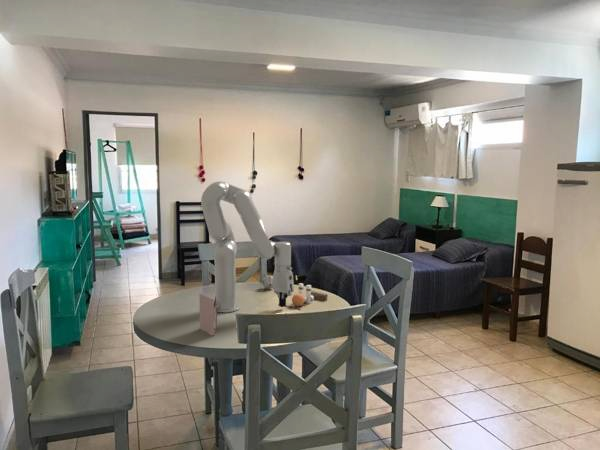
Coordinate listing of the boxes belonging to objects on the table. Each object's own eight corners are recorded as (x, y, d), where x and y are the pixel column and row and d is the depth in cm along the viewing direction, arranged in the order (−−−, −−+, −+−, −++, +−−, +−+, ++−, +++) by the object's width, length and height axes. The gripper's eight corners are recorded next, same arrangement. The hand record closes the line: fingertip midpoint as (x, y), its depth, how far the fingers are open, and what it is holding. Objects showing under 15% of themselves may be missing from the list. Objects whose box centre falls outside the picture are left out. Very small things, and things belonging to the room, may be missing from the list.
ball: (308, 300, 234) (300, 310, 233) (301, 294, 238) (293, 304, 237) (303, 295, 229) (294, 305, 229) (295, 289, 233) (287, 299, 233)
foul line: (300, 310, 227) (300, 309, 227) (278, 304, 236) (278, 304, 236) (301, 309, 227) (301, 309, 227) (279, 304, 236) (279, 303, 236)
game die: (270, 296, 265) (273, 284, 259) (257, 290, 267) (259, 278, 260) (277, 285, 272) (280, 273, 265) (263, 279, 273) (266, 267, 267)
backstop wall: (324, 300, 243) (325, 295, 243) (306, 296, 251) (306, 291, 251) (327, 300, 245) (327, 294, 245) (309, 296, 252) (309, 290, 252)
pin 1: (301, 302, 240) (301, 284, 239) (297, 301, 242) (297, 283, 241) (304, 301, 242) (304, 283, 241) (300, 300, 244) (300, 283, 243)
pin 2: (308, 304, 237) (309, 286, 236) (304, 303, 239) (305, 285, 238) (311, 303, 239) (312, 285, 238) (308, 302, 240) (308, 284, 239)
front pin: (302, 298, 237) (313, 295, 244) (298, 298, 239) (310, 294, 245) (302, 304, 237) (314, 300, 244) (298, 303, 239) (310, 299, 245)
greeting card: (215, 336, 189) (215, 299, 188) (196, 336, 189) (196, 299, 187) (218, 327, 201) (218, 292, 199) (200, 327, 200) (200, 292, 198)
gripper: (300, 269, 224) (299, 307, 226) (276, 264, 233) (276, 301, 235) (289, 271, 218) (289, 311, 220) (265, 267, 227) (265, 304, 229)
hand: (282, 306), depth 228 cm, fingers closed
